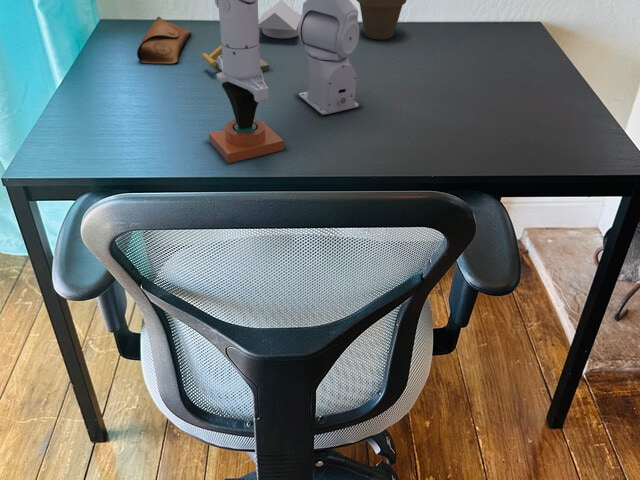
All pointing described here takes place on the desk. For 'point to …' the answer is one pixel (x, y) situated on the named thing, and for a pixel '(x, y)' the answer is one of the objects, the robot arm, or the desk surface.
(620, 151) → the desk surface
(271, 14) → the wedge on round base
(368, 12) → the flower pot
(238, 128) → the button
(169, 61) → the sunglasses case
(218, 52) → the tap lever
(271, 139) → the button block
